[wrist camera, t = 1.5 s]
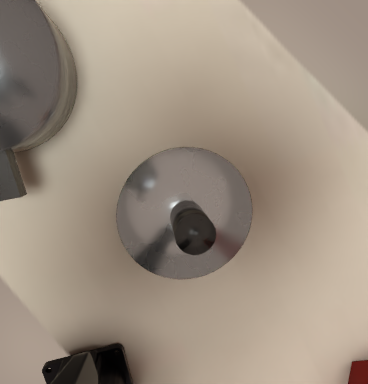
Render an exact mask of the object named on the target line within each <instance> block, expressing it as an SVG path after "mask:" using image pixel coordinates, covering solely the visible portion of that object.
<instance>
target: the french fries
mask: <svg viewBox="0 0 368 384" xmlns="http://www.w3.org/2000/svg"><path fill="white" fill-rule="evenodd" d="M348 384H368V360H364V361H354V362H352V366H351V371H350V376H349V382H348Z"/></svg>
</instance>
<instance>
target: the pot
mask: <svg viewBox="0 0 368 384" xmlns="http://www.w3.org/2000/svg"><path fill="white" fill-rule="evenodd" d="M76 91H77V75H76V69H75V63H74V60H73V57H72V54H71V51H70V49H69V47H68V44H67V42H66V40H65V39H64V37H63V35H62V34H61V32H60V31H59V29H58V28H57V27H56V25H55V24H54V23H53V22H52V20H51V19H50V18H49V17H48V15H47V14H46V13H45V12H44V11H43V9H42V8H41V7H40V6H39V4H38V3H37V2H36V1H35V0H0V201H3V200H8V199H13V198H18V197H22V196H24V195H26V194H27V193H26V190H25V187H24V184H23V181H22V178H21V175H20V171H19V168H18V165H17V162H16V159H15V156H14V153H13V152H18V151H24V150H28V149H31V148H34V147H36V146H39V145H40V144H42V143H44V142H46V141H47V140H49V139H50V138H51V137H53V136H54V135H55V134H56V133H57V132H58V131H59V130H60V129H61V128H62V126H63V125H64V124H65V122H66V121H67V119H68V117H69V115H70V113H71V111H72V108H73V106H74V102H75V97H76Z"/></svg>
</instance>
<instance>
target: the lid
mask: <svg viewBox="0 0 368 384" xmlns="http://www.w3.org/2000/svg"><path fill="white" fill-rule="evenodd" d="M116 217H117V227H118V232H119V235H120V238H121V241H122V243H123V245H124V247H125V248H126V250H127V251H128V253H129V254H130V256H131V257H132V258H133V259H134V260H135V261H136V262H137V263H138V264H140V265H141V266H142V267H144V268H145V269H147V270H148V271H150V272H152V273H154V274H156V275H160V276H163V277H167V278H172V279H191V278H197V277H201V276H204V275H207V274H209V273H211V272H214V271H215V270H217V269H219V268H221V267H222V266H223V265H225V264H226V263H227V262H228V261H230V260H231V259H232V258H233V257H234V256H235V254H236V253H237V252H238V251H239V249H240V248H241V246H242V245H243V243H244V241H245V239H246V237H247V235H248V232H249V229H250V225H251V220H252V201H251V196H250V192H249V189H248V186H247V184H246V182H245V180H244V179H243V177H242V176H241V174H240V173H239V171H238V170H237V169H236V168H235V167H234V166H233V165H232V164H231V163H230V162H229V161H227V160H226V159H224V158H223V157H221V156H220V155H218V154H215V153H213V152H211V151H208V150H204V149H200V148H193V147H180V148H172V149H169V150H165V151H162V152H160V153H157V154H155V155H153V156H152V157H150V158H148V159H147V160H145V161H144V162H143V163H141V164H140V165H139V166H138V167H137V168H136V169H135V170H134V171H133V172H132V174H131V175H130V176H129V178H128V179H127V181H126V183H125V185H124V186H123V188H122V191H121V193H120V196H119V200H118V204H117V213H116Z"/></svg>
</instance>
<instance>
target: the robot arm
mask: <svg viewBox="0 0 368 384" xmlns="http://www.w3.org/2000/svg"><path fill="white" fill-rule="evenodd" d="M116 350H118V351H119V352H116ZM48 368H51V369H48ZM42 373H43V375H44V378H45V381H46V383H47V384H133V381H132V377H131V374H130V370H129V367H128V363H127V359H126V356H125V352H124V348H123V346H122V345H120V344H115V345H111V346H107V347H103V348H99V349H96V350H92V351H88V352H84V353H80V354H76V355H72V356H68V357H64V358H60V359H56V360H52V361H48V362H46V363H45V365H44V367H43V369H42Z"/></svg>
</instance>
